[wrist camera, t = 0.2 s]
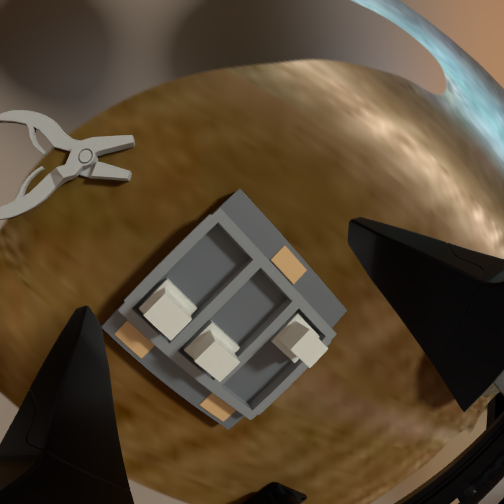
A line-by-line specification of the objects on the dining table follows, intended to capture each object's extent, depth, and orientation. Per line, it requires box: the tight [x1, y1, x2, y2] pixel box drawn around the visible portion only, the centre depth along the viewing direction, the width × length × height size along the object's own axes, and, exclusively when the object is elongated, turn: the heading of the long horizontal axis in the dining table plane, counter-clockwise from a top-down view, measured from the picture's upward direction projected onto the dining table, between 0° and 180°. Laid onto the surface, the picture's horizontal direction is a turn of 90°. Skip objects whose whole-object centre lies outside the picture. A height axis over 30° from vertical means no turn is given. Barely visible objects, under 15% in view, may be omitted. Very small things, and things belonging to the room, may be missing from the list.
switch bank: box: [102, 189, 347, 429], centre depth 23 cm, size 14×15×3 cm
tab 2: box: [183, 319, 240, 382], centre depth 21 cm, size 3×3×4 cm
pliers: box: [0, 110, 135, 220], centre depth 20 cm, size 10×2×15 cm
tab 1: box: [139, 277, 197, 341], centre depth 20 cm, size 3×3×4 cm
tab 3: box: [269, 312, 328, 368], centre depth 23 cm, size 3×3×4 cm
